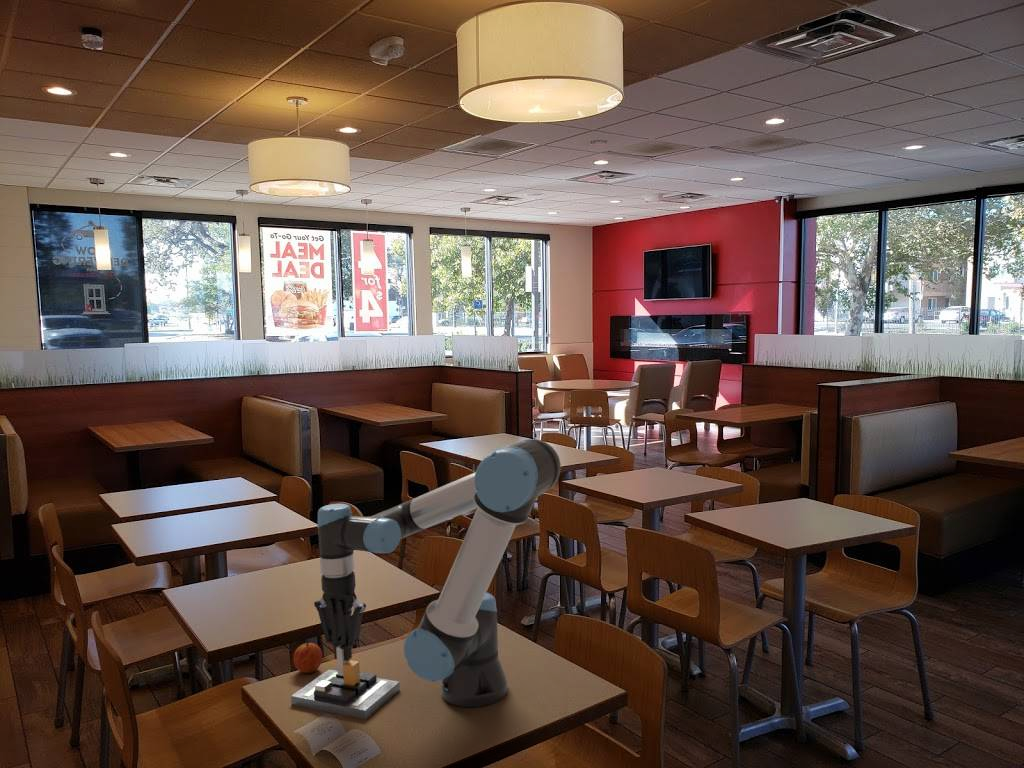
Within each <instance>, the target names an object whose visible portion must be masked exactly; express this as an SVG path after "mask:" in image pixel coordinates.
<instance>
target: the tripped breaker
mask: <svg viewBox="0 0 1024 768" xmlns="http://www.w3.org/2000/svg"><path fill="white" fill-rule="evenodd" d="M360 672H361V670H360V662H359V661H357V660H351V659H350V660H349V661H348V662H346V663H345V664H343V677H344V684H346V685H352V686H354V685H355V684H356V683H358V682H359V681H360Z"/></svg>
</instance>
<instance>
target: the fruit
mask: <svg viewBox="0 0 1024 768" xmlns="http://www.w3.org/2000/svg"><path fill="white" fill-rule="evenodd" d="M322 662H323V652H322V649H321V647H320V646H319V645H318V644H316V643H314V642H309V641H308V640H306V643H304V642H303V644H301V645H299V646H298V647H297V648H296V650H295V651H294V654H293V665H294V667H295V669H297V670H298V671H299V672H301V673H303V674H310V673H313V672H315V671H317V670H318V669H319V667H320V666H321V664H322Z"/></svg>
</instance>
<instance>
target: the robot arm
mask: <svg viewBox="0 0 1024 768" xmlns="http://www.w3.org/2000/svg"><path fill="white" fill-rule="evenodd" d="M560 460H561V459H560V456H559V454H558V453H557V451H556V450H555V449H554V447H553V446H551V444H549V443H547V442H545V441H544V440H540V439H535V438H533V439H532V438H530V439H529V438H528V439H525V440H522V441H519V442H517V443H514V444H511V445H509V446H503V447H502V446H501V447H499V448H497V449H495V450H494V451H492V452H491V453H489V454H488V455H486V456H485V457H484V458H483V459H482V460H481V461H480V462H479V464H478V466H477V468H476V470H475V472H473V473H471V474H468V475H465V476H464V477H461V478H458V479H456V480H455V481H451V482H449V483H446V484H445V485H442V486H440V487H438V488H436V489H435V488H434V489H433V490H431V491H429V492H426V493H423V494H422V495H419V496H417V497H414V498H413V499H410V500H408V501H405V502H403V503H400V504H398V505H396V506H393V507H391V508H389V509H385V510H383V511H381V512H378V513H376V514H374V515H371V516H370V515H369V516H362V515H361V516H360V515H359V516H358V515H355V514H353V512H352V508H351V506H350V505H349V504H346V503H331V504H328V505H324V506H322V507H320V508H319V509H318V511H317V526H316V527H317V535H318V545H319V566H320V567H319V568H320V569H319V570H320V574H322V575H321V576H320V578H321V581H320V583H321V591H322V592H323V594H322V597H321V598H320V599H317V600H316V601H314V602H313V606H314V607H315V609H316V611H317V612H318V616H319V620H320V624H321V628H322V631H323V635H324V638H325V642H326V643H327V644H329V643H330V644H332V646H333V653H334V654H333V655H334V656H333V657H334V659H335V660H336V665H337V671H338V675H340V676H343V664H345V663H346V662H348V661H349V660H351V659H352V658H353V653H352V647H353V646H354V645H355V644H357V643H358V642H359V640H360V633H361V629H362V628H361V627H362V620H363V613H364V611H365V610H366V608H367V604H366V603H365V602H363V603H361V602H360V601H358V600H357V599H358V597H357V595H356V592H355V591H356V573H355V571H354V570H355V558H354V551H359V552H367V553H373V554H391V553H392V552H394V551H395V550H396V548H397V547H398V546H399V545H400V541H401V540H402V539H405V538H406V537H409V536H411V535H414V534H416V533H418V532H421V531H424V530H426V529H427V528H430V527H433V526H435V525H439V524H441V523H443V522H446V521H448V520H451V519H453V518H456V517H458V516H460V515H463V514H465V513H468V512H471V511H473V510H475V513H474V515H473V518H472V519H471V522H470V524H469V527H468V528H467V529H468V530H467V532H466V533H465V536H464V538H463V540H462V543H461V546H460V548H459V550H458V552H457V555H456V557H455V560H454V562H453V564H452V566H451V568H450V570H449V573H448V576H447V579H446V581H445V583H444V586H443V588H442V590H441V593H440V594H439V597H438V599H435V600H433V601H431V602H430V603H429V604H428V605H427V607H426V609H425V612H424V614H423V616H422V618H421V621H420V623H419V625H418V626H417V628H415V629H413V630H412V631H410V633H409V634H408V635H407V636H406V638H405V640H404V643H403V654H404V658H405V659H406V662H407V664H408V667H409V668H410V669H411V671H412V672H413V673H414V675H416V676H417V677H419V678H421V680H424V681H426V682H430V683H437V682H438V683H439V682H441V685H440V686H441V696H442V698H443V700H444V701H446V702H447V703H449V704H451V705H453V706H456V707H461V708H462V707H464V708H480V707H484V706H485V707H486V706H489V705H492V704H495V703H497V702H498V701H500V700H502V699H503V698H504V697H505V696H506V694H507V693H508V680H507V676H506V674H505V671H504V668H503V666H502V663H501V661H500V658H499V644H498V643H499V639H498V609H497V603H496V602H497V601H496V598H495V596H493V595H492V594H491V593H489V592H487V591H488V589H489V587H490V585H491V583H492V581H493V578H494V576H495V574H496V571H497V569H498V567H499V564H500V563H501V560H502V558H503V555H504V553H505V551H506V548H507V547H508V544H509V542H510V540H511V537H512V535H513V533H514V531H515V528H516V526H519V525H523V524H524V523H526V522H527V521H528V518H529V517H530V513H531V511H532V509H533V508H534V504H535V502H536V501H537V498H538V497H540V496H541V495H543V494H544V493H546V492H548V491H550V490H551V489H552V488H553V487H554V486H555V484H556V483H558V480H559V477H560V475H561V468H562V467H561V461H560Z"/></svg>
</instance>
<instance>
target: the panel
mask: <svg viewBox="0 0 1024 768" xmlns="http://www.w3.org/2000/svg"><path fill="white" fill-rule="evenodd" d="M400 690H401V685H400V681H397V680H391V679H387V678H380V677H377V673H371V672H367V671H365V672H364V671H360V681H359V682H358V683H356V684H355V685H354V686H352V685H346V684H344V677H343V676H340V675H338V670H335V669H327V670H326V671H325V672H323V673H322V674H320V675H318V677H316V678H314V679H313V680H312V681H310V682H309V683H308V684H306V685H304V686H303V687H301V688H299V690H298V691H296V692H294V693H293V694H292V695H290V699H291V700H290V701H291V703H290V704H291V705H292V704H293V705H292V706H297V707H303V708H308V709H312V710H317V711H322V712H327V713H332V714H336V715H342V716H346V717H351V718H357V719H362V720H367V719H368V718H369V717H370V716H371V715H373V714H374V713H375V712H376V711H377V710H379V709H380V708H382V706H384V705H385V704H386V703H387V702H388V701H389V700H390V699H391V698H393V697H394V695H396V694H397V693H398V692H400Z"/></svg>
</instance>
